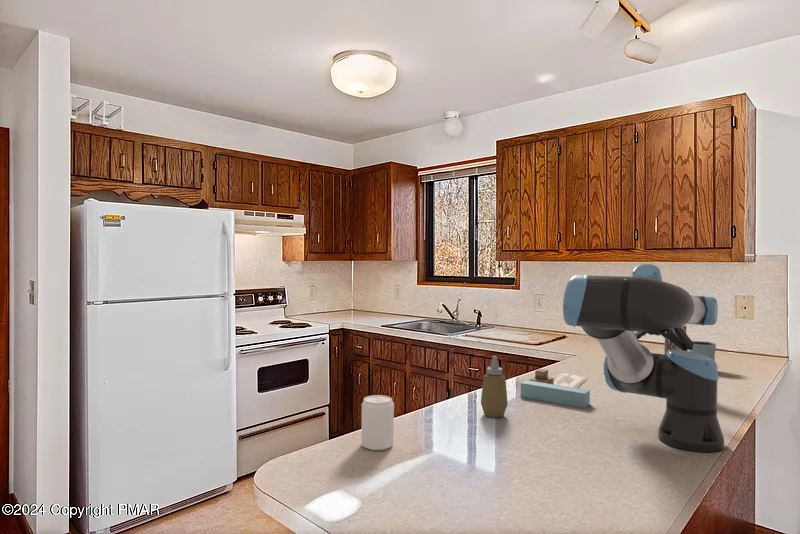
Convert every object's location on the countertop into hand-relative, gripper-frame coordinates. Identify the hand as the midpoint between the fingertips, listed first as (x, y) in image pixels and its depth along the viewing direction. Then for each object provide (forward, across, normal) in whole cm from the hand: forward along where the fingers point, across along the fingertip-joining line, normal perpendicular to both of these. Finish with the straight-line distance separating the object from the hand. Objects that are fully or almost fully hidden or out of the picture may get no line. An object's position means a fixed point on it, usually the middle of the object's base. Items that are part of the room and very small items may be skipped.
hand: (659, 360), depth 168 cm
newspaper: (+21, +36, -1) cm, 41 cm away
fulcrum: (+11, +39, +10) cm, 42 cm away
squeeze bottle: (-11, +38, +42) cm, 58 cm away
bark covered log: (+27, -1, -10) cm, 29 cm away
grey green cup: (+56, -3, -51) cm, 76 cm away
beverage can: (-36, +49, +76) cm, 97 cm away
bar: (+5, +30, +19) cm, 36 cm away
